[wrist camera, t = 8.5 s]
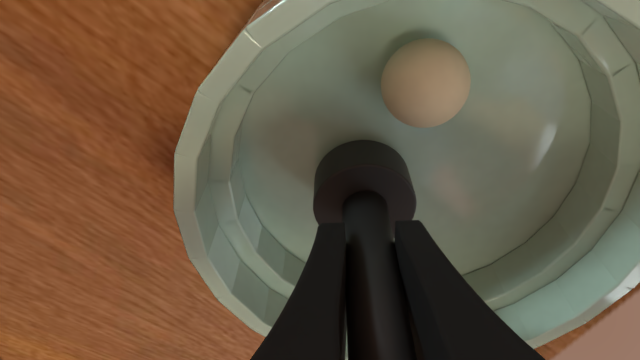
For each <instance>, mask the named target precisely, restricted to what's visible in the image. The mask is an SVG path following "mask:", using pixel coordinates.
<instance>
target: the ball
mask: <svg viewBox="0 0 640 360" xmlns="http://www.w3.org/2000/svg"><path fill="white" fill-rule="evenodd" d="M470 85H471V75H470V71H469V67H468V64H467V62H466V60H465V58H464V57H463V55H462V54H461V53H460V52H459V51H458V50H457V49H456V48H455V47H454V46H452V45H451V44H449V43H447V42H445V41H442V40H438V39H433V38H424V39H418V40H414V41H412V42H409V43H407V44H405V45H403V46H402V47H401V48H399V49H398V50H397V51H396V52H395V53H394V54H393V55H392V56H391V57H390V59H389V60H388V62H387V63H386V65H385V68H384V70H383V73H382V78H381V93H382V98H383V101H384V103H385V105H386V107H387V109H388V110H389V112H390V113H391V114H392V115H393V116H394V117H395V118H396V119H398V120H399V121H401V122H402V123H404V124H407V125H409V126H412V127H418V128H429V127H434V126H438V125H441V124H443V123H445V122H447V121H448V120H450V119H451V118H453V117H454V116H455V115H456V114H457V113H458V112H459V111H460V110H461V108H462V107H463V105H464V104H465V102H466V100H467V98H468V95H469V91H470Z"/></svg>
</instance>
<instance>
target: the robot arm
mask: <svg viewBox="0 0 640 360" xmlns="http://www.w3.org/2000/svg"><path fill="white" fill-rule="evenodd" d="M394 244H395V250H396V255H397V260H398V265H399V270H400V275H401V279H402V284H403V289H404V294H405V300H406V305H407V310H408V315H409V320H410V326H411V331H412V336H413V341H414V346H415V351H416V357H417V360H545V359H544V358H543V357H542V356H541V355H540V354H539V353H537V352H536V351H535V350H534V349H533V348H532V347H531V346H529V345H528V344H527V343H526V342H525V341H524V340H523V339H522V338H521V337H519V336H518V335H517V334H516V333H515V332H514V331H513V330H512V329H511V328H510V327H509V326H508V325H507V324H506V323H505V322H504V321H503V320H502V319H501V318H500V317H499V316H498V315H497V314H496V313H495V312H494V311H493V310H492V309H491V308H490V307H489V306H488V305H487V304H486V303H485V302H484V301H483V300H482V298H481V297H480V296H479V295H478V294H477V293H476V292H475V291H474V290H473V288H472V287H471V286H470V285H469V284H468V283H467V282H466V280H465V279H464V278H463V277H462V276H461V274H460V273H459V272H458V271H457V270H456V268H455V267H454V266H453V265H452V263H451V262H450V261H449V260H448V258H447V257H446V256H445V254H444V253H443V252H442V250H441V249H440V248H439V246H438V245H437V244H436V242H435V241H434V240H433V238H432V237H431V235H430V234H429V232H428V231H427V229H426V228H425V226H424V225H423V223H422V222H420V221H419V220H405V221H396V222H395V239H394ZM345 294H346V239H345V223H344V222H341V223H321V224H320V225H319V226H318V228H317V233H316V237H315V240H314V244H313V246H312V249H311V252H310V254H309V257H308V260H307V262H306V264H305V266H304V269H303V271H302V273H301V275H300V278H299V280H298V282H297V284H296V286H295V288H294V290H293V292H292V294H291V295H290V297H289V299H288V301H287V303H286V305H285V307H284V309H283V310H282V312H281V314H280V315H279V317H278V319H277V320H276V322H275V324H274V325H273V327H272V329H271V330H270V332H269V333H268V335H267V336H266V338H265V339H264V341H263V342H262V344H261V345H260V347H259V348H258V349H257V351H256V352H255V354H254V355H253V356H252V358H251V359H250V360H345V352H346V332H347V320H346V296H345Z"/></svg>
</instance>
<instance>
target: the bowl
mask: <svg viewBox="0 0 640 360" xmlns="http://www.w3.org/2000/svg"><path fill="white" fill-rule="evenodd" d="M424 38H433V39H438V40H442V41H445V42H447V43H449V44H451V45H452V46H454V47H455V48H456V49H457V50H458V51H459V52H460V53H461V54H462V55H463V57H464V58H465V60H466V62H467V64H468V67H469V71H470V75H471V85H470V91H469V95H468V98H467V100H466V102H465V104H464V105H463V107H462V108H461V110H460V111H459V112H458V113H457V114H456V115H455V116H454V117H453V118H451V119H450V120H448V121H447V122H445V123H443V124H441V125H438V126H434V127H429V128H418V127H412V126H409V125H407V124H404V123H402V122H401V121H399V120H398V119H396V118H395V117H394V116H393V115H392V114H391V113H390V112H389V110H388V109H387V107H386V105H385V103H384V101H383V98H382V93H381V78H382V73H383V70H384V68H385V65H386V63H387V62H388V60H389V59H390V57H391V56H392V55H393V54H394V53H395V52H396V51H397V50H398V49H399V48H401V47H402V46H403V45H405V44H407V43H409V42H412V41H414V40H418V39H424ZM355 140H372V141H377V142H381V143H383V144H386V145H388V146H389V147H391V148H393V149H394V150H395V151H397V152H398V153H399V154H400V155H401V157H402V158H403V159H404V161H405V163H406V165H407V168H408V171H409V174H410V177H411V181H412V184H413V187H414V191H415V194H416V200H417V206H416V212H415V215H414V217H413V219H412V220H419V221H420V222H422V223H423V225H424V226H425V228H426V229H427V231H428V232H429V234H430V235H431V237H432V238H433V240H434V241H435V242H436V244H437V245H438V246H439V248H440V249H441V250H442V252H443V253H444V254H445V256H446V257H447V258H448V260H449V261H450V262H451V263H452V265H453V266H454V267H455V268H456V270H457V271H458V272H459V273H460V274H461V276H462V277H463V278H464V279H465V280H466V282H467V283H468V284H469V285H470V286H471V287H472V288H473V290H474V291H475V292H476V293H477V294H478V295H479V296H480V297H481V298H482V300H483V301H484V302H485V303H486V304H487V305H488V306H489V307H490V308H491V309H492V310H493V311H494V312H495V313H496V314H497V315H498V316H499V317H500V318H501V319H502V320H503V321H504V322H505V323H506V324H507V325H508V326H509V327H510V328H511V329H512V330H513V331H514V332H515V333H516V334H517V335H518V336H519V337H521V338H522V339H523V340H524V341H525V342H526V343H527V344H528V345H529V346H531V347H532V348H533V349H535V348H537V347H540V346H542V345H544V344H546V343H548V342H550V341H552V340H554V339H556V338H558V337H560V336H562V335H564V334H566V333H568V332H570V331H572V330H574V329H576V328H578V327H580V326H582V325H584V324H586V322H588V321H590V320H591V319H593V318H594V317H595V316H597V315H598V314H599V313H601V312H602V311H604V310H605V309H606V308H608V307H609V306H610V305H612V304H613V303H614V302H616V301H617V300H619V299H620V298H621V297H623V296H624V295H625V294H627V293H628V292H629V291H631V290H632V288H635V287H636V286H637V285H638V284H639V282H640V0H264V1H263V3H261V4H260V5H259V7H258V8H257V9H256V11H255V12H254V13H253V14H252V16H251V17H250V18H249V20H248V21H247V22H246V24H245V25H244V26H243V28H242V29H241V30H240V31H239V33H238V34H237V35H236V37H235V38H234V39H233V41H232V42H231V43H230V45H229V46H228V47H227V49H226V50H225V51H224V53H223V54H222V55H221V57H220V58H219V60H218V61H217V62H216V64H215V65H214V67H213V68H212V69H211V71H210V72H209V74H208V75H207V76H206V78H205V79H204V81H203V82H202V83H201V85H200V86H199V87H198V90H197V91H196V93H195V96H194V99H193V101H192V104H191V107H190V110H189V113H188V115H187V118H186V121H185V124H184V127H183V129H182V132H181V135H180V138H179V141H178V144H177V146H176V149H175V154H174V200H173V209H174V214H175V217H176V220H177V223H178V226H179V230H180V233H181V236H182V239H183V242H184V245H185V248H186V252H187V255H188V258H189V259H190V261H191V263H192V264H193V266H194V267H195V268H196V270H197V271H198V273H199V274H200V276H201V277H202V279H203V280H204V282H205V283H206V284H207V286H208V287H209V289H210V290H211V292H212V293H213V295H214V296H215V298H217V300H218V301H219V302H220V303H221V304H223V305H224V306H225V307H226V308H227V309H228V310H229V311H231V312H232V313H233V314H234V315H235V316H236V317H238V318H239V319H240V320H241V321H242V322H243V323H245V324H246V325H247V326H248V327H249V328H250V329H252V330H253V331H255V332H257V333H259V334H261V335H262V336H264V337H266V336H267V335H268V333H269V332H270V330H271V329H272V327H273V325H274V324H275V322H276V320H277V319H278V317H279V315H280V314H281V312H282V310H283V309H284V307H285V305H286V303H287V301H288V299H289V297H290V295H291V294H292V292H293V290H294V288H295V286H296V284H297V282H298V280H299V278H300V275H301V273H302V271H303V269H304V266H305V264H306V262H307V260H308V257H309V254H310V252H311V249H312V246H313V244H314V240H315V237H316V233H317V228H318V226H319V225H318V223H317V221H316V219H315V216H314V212H313V196H314V178H315V173H316V170H317V167H318V165H319V163H320V162H321V160H322V159H323V158H324V156H325V155H326V154H327V153H329V152H330V151H331V150H332V149H334V148H335V147H337V146H339V145H341V144H344V143H347V142H350V141H355ZM394 239H395V238H394ZM345 360H348V345H347V332H346V352H345Z"/></svg>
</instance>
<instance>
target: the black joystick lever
mask: <svg viewBox="0 0 640 360" xmlns="http://www.w3.org/2000/svg"><path fill="white" fill-rule="evenodd" d="M416 206H417V200H416V194H415V191H414V187H413V184H412V181H411V177H410V174H409V171H408V168H407V165H406V163H405V161H404V159H403V158H402V157H401V155H400V154H399V153H398V152H397V151H395V150H394V149H393V148H391V147H389V146H388V145H386V144H383V143H381V142H377V141H372V140H355V141H350V142H347V143H344V144H341V145H339V146H337V147H335V148H334V149H332V150H331V151H330V152H329V153H327V154H326V155H325V156H324V158H323V159H322V160H321V162H320V163H319V165H318V167H317V170H316V173H315V178H314V196H313V212H314V216H315V219H316V221H317V223H318V225H320V224H321V223H341V222H344V223H345V239H346V294H345V296H346V320H347V345H348V360H417V357H416V351H415V346H414V341H413V336H412V331H411V326H410V320H409V315H408V310H407V305H406V300H405V294H404V289H403V284H402V279H401V275H400V270H399V265H398V260H397V255H396V250H395V244H394V238H395V222H396V221H405V220H412V219H413V217H414V215H415V212H416Z"/></svg>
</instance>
